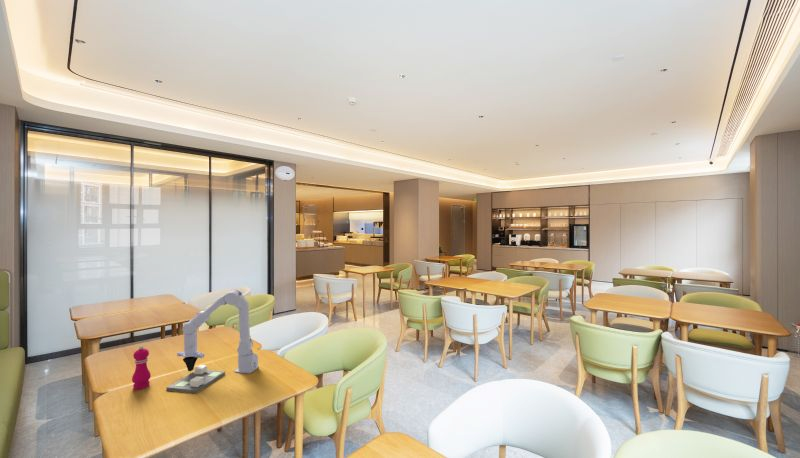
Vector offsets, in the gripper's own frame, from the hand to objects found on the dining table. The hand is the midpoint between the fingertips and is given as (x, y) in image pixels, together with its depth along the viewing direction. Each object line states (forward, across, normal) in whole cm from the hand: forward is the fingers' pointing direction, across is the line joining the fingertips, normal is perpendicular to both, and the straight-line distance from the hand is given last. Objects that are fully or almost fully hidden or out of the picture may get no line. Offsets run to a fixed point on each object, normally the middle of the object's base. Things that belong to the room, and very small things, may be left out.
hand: (190, 370), depth 176 cm
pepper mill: (+3, -14, -15) cm, 21 cm away
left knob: (+1, +14, -12) cm, 18 cm away
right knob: (+1, +6, 0) cm, 6 cm away
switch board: (+2, +9, -6) cm, 11 cm away
